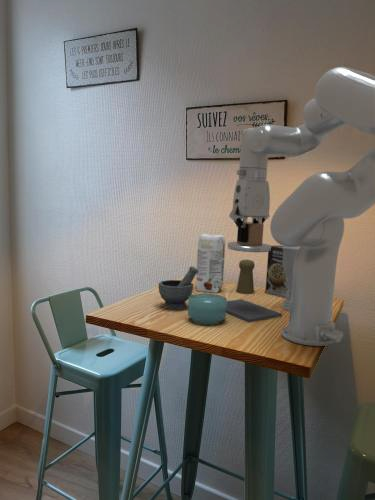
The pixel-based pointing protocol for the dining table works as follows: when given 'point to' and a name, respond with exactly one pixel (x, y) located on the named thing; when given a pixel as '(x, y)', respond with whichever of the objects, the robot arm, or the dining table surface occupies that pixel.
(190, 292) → the mortar and pestle
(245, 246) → the lid
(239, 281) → the olive pawn
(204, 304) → the bowl
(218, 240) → the juice carton
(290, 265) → the chalice
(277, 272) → the coffee box
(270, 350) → the dining table surface
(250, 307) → the mat
